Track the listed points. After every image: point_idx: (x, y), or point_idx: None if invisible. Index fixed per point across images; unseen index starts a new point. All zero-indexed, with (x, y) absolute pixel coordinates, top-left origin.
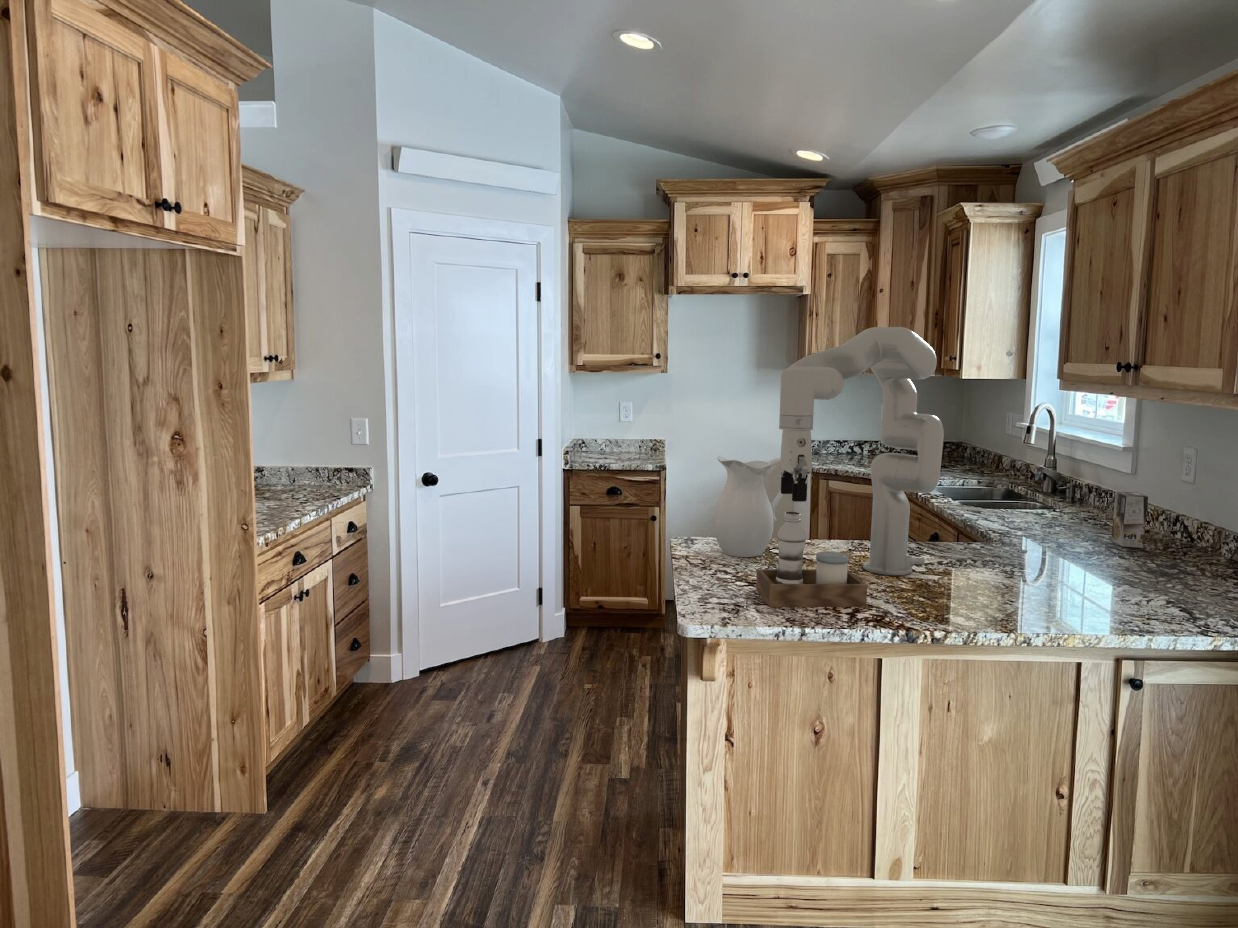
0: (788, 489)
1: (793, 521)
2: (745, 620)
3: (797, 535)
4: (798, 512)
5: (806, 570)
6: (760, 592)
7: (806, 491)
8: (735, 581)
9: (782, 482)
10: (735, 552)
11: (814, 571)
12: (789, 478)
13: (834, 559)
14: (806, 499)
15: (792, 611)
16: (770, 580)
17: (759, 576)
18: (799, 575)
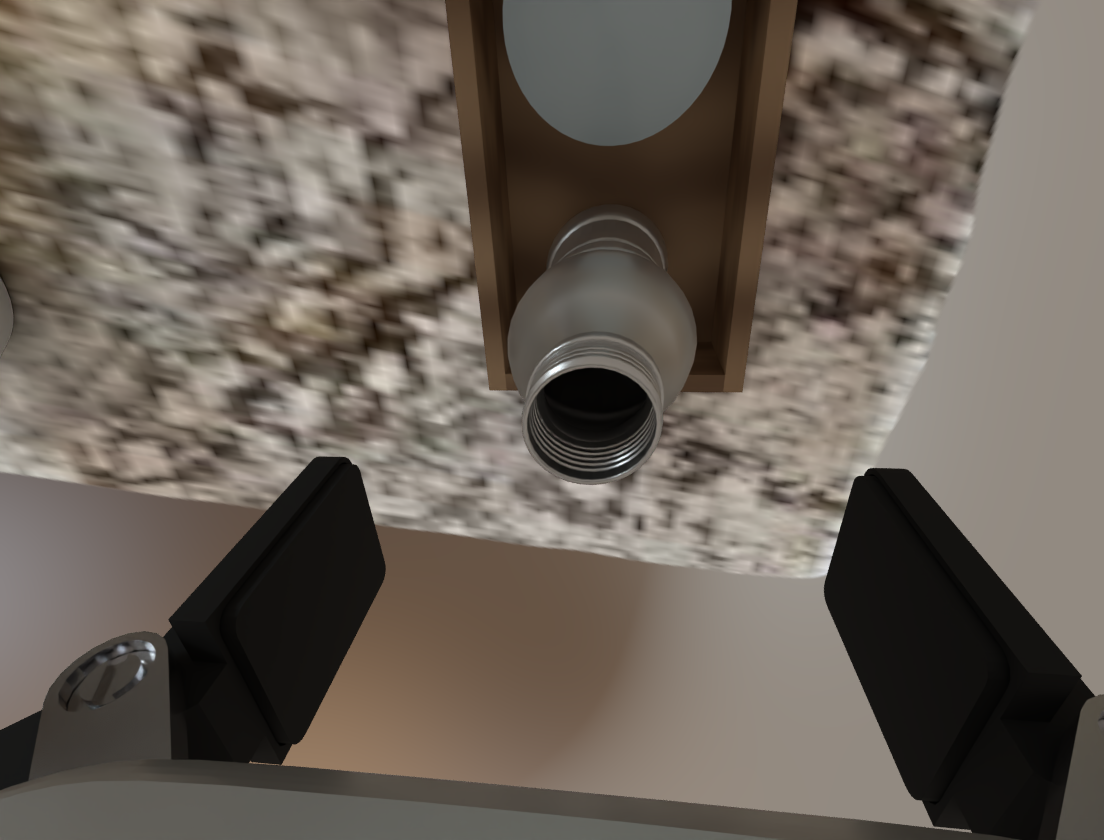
0: (352, 551)
1: (662, 406)
2: (805, 445)
3: (694, 343)
4: (560, 368)
5: (485, 160)
6: None
7: (975, 560)
8: (364, 386)
9: (328, 683)
10: (7, 328)
11: (480, 111)
12: (266, 672)
13: (724, 37)
14: (914, 477)
15: None
16: None
17: None
18: (654, 248)
